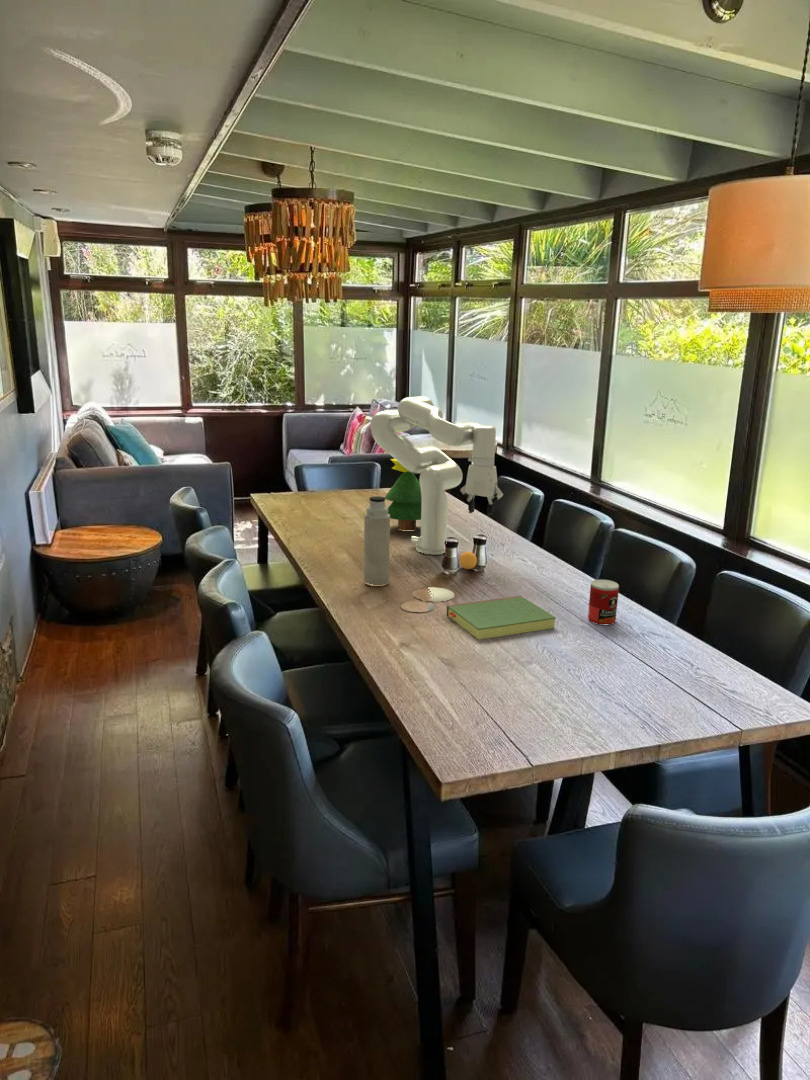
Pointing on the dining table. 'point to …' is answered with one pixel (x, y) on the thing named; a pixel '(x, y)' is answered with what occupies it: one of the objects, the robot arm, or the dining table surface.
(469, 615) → the hardcover book
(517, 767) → the dining table surface
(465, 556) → the ball
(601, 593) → the canned food
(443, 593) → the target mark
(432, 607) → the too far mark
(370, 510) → the thermos bottle
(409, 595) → the dining table surface
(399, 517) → the decorative tree
